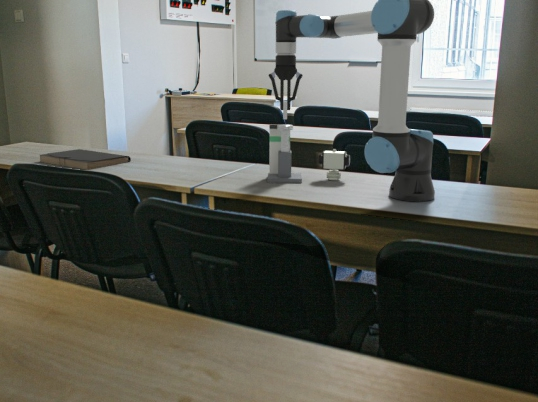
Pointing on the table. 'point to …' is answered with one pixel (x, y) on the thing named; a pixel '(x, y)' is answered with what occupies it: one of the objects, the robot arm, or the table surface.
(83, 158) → the brown book
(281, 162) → the stand
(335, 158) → the pneumatic valve
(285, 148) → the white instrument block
